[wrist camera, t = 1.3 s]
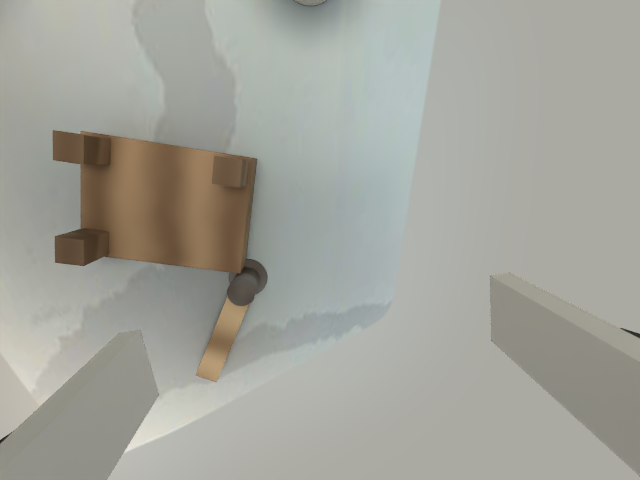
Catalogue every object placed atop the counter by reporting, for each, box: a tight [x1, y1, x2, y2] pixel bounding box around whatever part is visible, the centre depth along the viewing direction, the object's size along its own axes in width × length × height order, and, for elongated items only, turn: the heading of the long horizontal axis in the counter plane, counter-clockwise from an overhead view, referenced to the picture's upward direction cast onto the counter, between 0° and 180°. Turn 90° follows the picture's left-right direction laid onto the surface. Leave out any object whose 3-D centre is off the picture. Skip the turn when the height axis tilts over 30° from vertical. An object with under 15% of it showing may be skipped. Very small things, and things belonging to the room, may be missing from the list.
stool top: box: [53, 130, 267, 294], centre depth 33 cm, size 19×16×8 cm
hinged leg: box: [196, 267, 260, 382], centre depth 37 cm, size 14×3×4 cm, turn 156°
